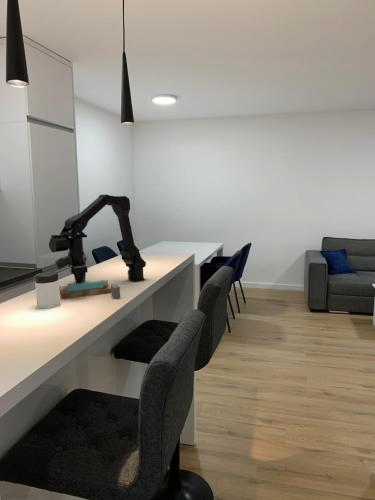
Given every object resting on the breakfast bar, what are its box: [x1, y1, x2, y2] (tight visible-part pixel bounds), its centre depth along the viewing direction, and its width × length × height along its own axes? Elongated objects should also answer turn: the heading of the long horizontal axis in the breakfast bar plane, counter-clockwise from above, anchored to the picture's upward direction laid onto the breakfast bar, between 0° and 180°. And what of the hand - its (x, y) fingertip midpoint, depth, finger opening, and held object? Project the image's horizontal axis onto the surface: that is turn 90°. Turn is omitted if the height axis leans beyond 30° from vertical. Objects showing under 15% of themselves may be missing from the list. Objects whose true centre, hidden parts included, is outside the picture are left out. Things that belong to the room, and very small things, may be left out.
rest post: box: [110, 283, 121, 300], centre depth 159 cm, size 2×6×4 cm, turn 21°
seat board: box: [59, 283, 111, 300], centre depth 169 cm, size 20×14×2 cm
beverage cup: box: [73, 251, 87, 284], centre depth 185 cm, size 7×7×20 cm
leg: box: [67, 279, 109, 292], centre depth 165 cm, size 16×3×2 cm, turn 111°
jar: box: [34, 271, 61, 309], centre depth 150 cm, size 9×8×12 cm
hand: (78, 286), depth 166 cm, fingers closed
